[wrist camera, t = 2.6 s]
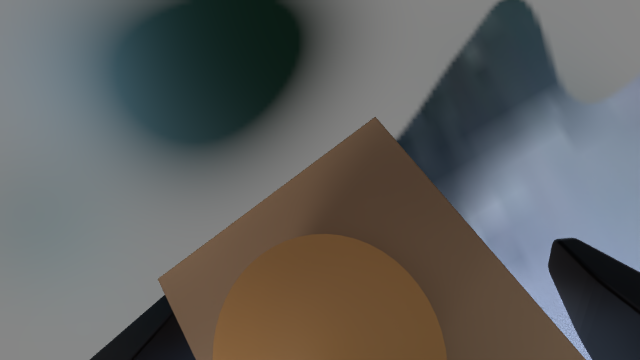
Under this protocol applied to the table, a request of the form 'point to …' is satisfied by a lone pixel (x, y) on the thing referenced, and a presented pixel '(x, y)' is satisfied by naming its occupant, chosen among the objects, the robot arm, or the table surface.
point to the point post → (357, 273)
